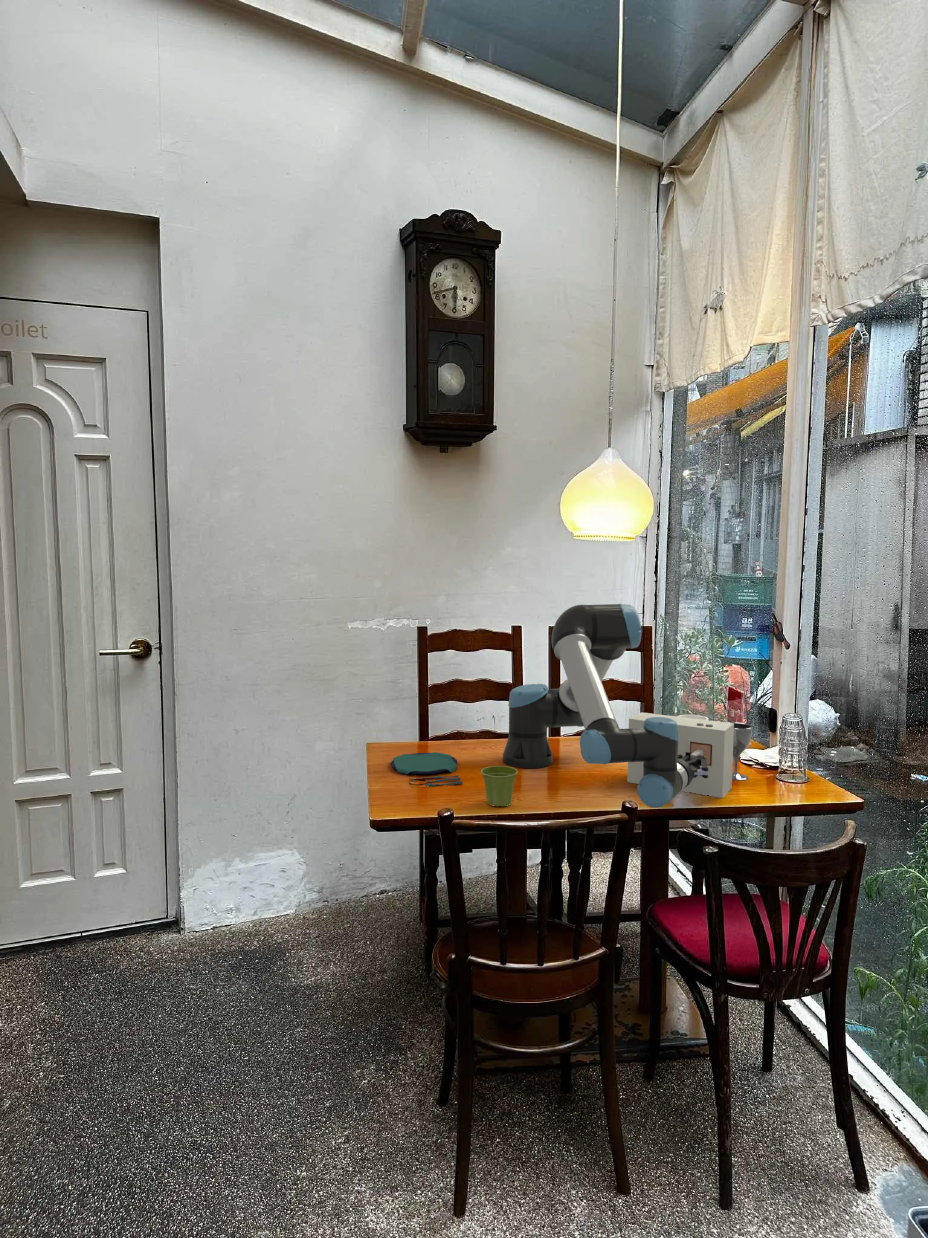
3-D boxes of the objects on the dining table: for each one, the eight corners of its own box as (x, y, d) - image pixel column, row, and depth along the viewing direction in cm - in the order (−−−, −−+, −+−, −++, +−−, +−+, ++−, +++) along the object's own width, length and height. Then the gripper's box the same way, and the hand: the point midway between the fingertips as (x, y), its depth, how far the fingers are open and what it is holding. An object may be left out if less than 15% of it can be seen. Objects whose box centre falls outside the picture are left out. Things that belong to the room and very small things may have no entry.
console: (722, 798, 204) (724, 729, 202) (627, 782, 218) (628, 717, 216) (731, 788, 213) (734, 722, 211) (639, 773, 226) (641, 711, 225)
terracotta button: (709, 764, 205) (710, 746, 204) (690, 762, 208) (691, 743, 207) (715, 759, 210) (716, 741, 210) (696, 756, 213) (697, 738, 212)
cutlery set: (451, 757, 244) (451, 749, 244) (470, 787, 215) (470, 779, 214) (388, 760, 240) (387, 753, 240) (398, 792, 211) (398, 784, 211)
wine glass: (715, 776, 224) (717, 724, 222) (730, 771, 229) (732, 721, 228) (740, 782, 218) (742, 730, 216) (755, 777, 223) (757, 725, 221)
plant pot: (496, 812, 192) (496, 778, 192) (473, 802, 200) (473, 769, 199) (525, 805, 198) (525, 772, 197) (501, 795, 206) (502, 763, 205)
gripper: (646, 787, 190) (675, 765, 210) (699, 796, 183) (725, 772, 203) (646, 757, 189) (676, 737, 209) (700, 765, 182) (726, 744, 202)
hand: (700, 754), depth 206 cm, fingers closed
